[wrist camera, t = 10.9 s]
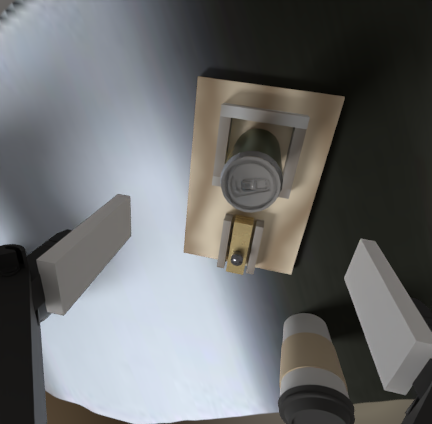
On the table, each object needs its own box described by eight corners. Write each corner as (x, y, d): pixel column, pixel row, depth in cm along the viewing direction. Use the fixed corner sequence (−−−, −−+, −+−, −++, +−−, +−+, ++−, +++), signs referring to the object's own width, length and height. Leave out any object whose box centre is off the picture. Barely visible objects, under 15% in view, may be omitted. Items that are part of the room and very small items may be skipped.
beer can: (279, 124, 32) (282, 151, 22) (280, 170, 35) (284, 214, 24) (232, 129, 34) (214, 156, 23) (236, 173, 36) (221, 215, 25)
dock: (185, 248, 44) (179, 260, 41) (200, 76, 33) (193, 76, 30) (290, 269, 42) (291, 283, 39) (342, 96, 31) (349, 98, 28)
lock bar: (228, 261, 42) (224, 276, 39) (236, 214, 38) (233, 226, 35) (244, 265, 42) (242, 280, 39) (254, 217, 38) (252, 230, 35)
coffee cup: (291, 299, 45) (299, 396, 31) (345, 320, 45) (376, 426, 31) (268, 335, 49) (266, 433, 36) (317, 354, 49) (334, 460, 36)
